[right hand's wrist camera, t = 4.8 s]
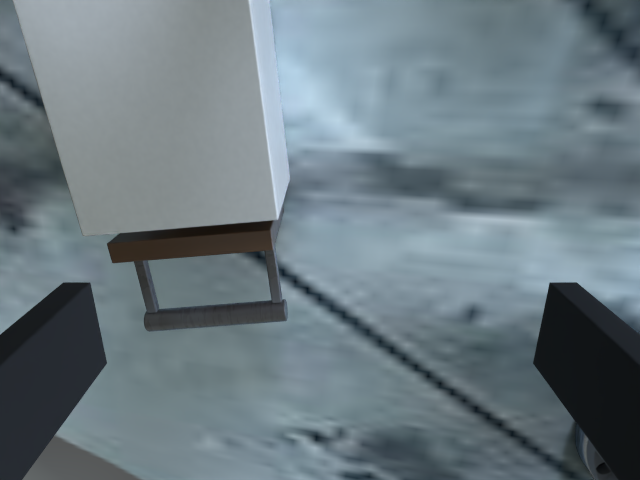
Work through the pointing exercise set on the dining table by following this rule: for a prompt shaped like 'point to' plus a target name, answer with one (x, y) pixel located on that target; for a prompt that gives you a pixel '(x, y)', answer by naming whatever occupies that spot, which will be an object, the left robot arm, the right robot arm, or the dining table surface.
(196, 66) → the cabinet
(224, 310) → the drawer
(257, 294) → the dining table surface
